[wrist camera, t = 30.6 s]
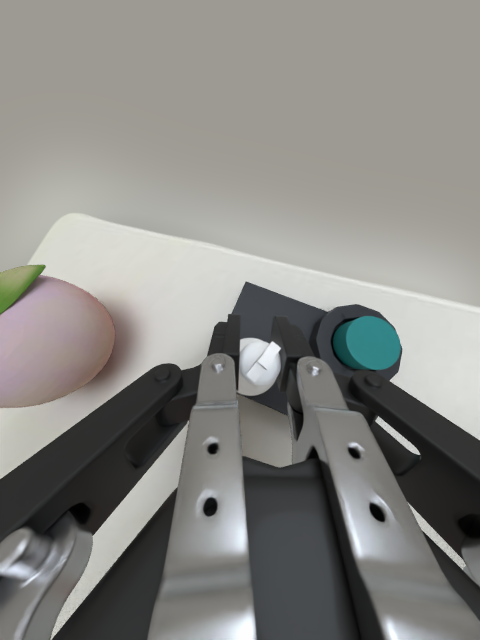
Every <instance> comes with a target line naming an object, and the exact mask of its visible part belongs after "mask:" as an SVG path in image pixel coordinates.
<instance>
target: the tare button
mask: <svg viewBox="0 0 480 640" xmlns="http://www.w3.org/2000/svg"><path fill="white" fill-rule="evenodd" d="M333 347H334V351H335V353H336V355H337V356H338V358H339V359H340V360H341V361H342V362H343V363H344V364H345V365H347V366H349V367H351V368H354V369H361V370H383V369H386V368H389V367H390V366H392V365H393V364H394V363H395V362H396V361H397V359H398V357H399V355H400V350H401V345H400V340H399V337H398V335H397V333H396V331H395V330H394V329H393V327H392V326H391V325H390V324H388V323H387V322H386V321H384V320H382V319H380V318H377V317H373V316H364V317H360V318H357V319H355V320H352V321H350V322H347V323H345V324H343V325H341V326H340V327H339V328H338V329H337V330H336V332H335V334H334V337H333Z"/></svg>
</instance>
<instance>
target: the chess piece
mask: <svg viewBox="0 0 480 640" xmlns="http://www.w3.org/2000/svg"><path fill="white" fill-rule="evenodd" d="M280 349H281V348H280V347H279V346H278V345H277V344H275V343H274V342H273V341H272V342H271V343H270V344H269V343H267V342H264V341H262V340H260V339H256V338H244V339H241V340H240V359H239V384H238V391H236V392H238V393H240V394H242V395H247V396H254V395H259V394H262V393H264V392H265V391H267V390H268V389H269V388H270V387H271V386H272V385H273V384H274V382H275V380H276V378H277V376H278V375H279V373H280V370H281V358H280V355H279V353H278V352H279V350H280Z"/></svg>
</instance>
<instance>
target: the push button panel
mask: <svg viewBox="0 0 480 640" xmlns="http://www.w3.org/2000/svg"><path fill="white" fill-rule="evenodd" d="M232 314H241V321H240V340H241V339H244V338H256V339H260V340H262V341H264V342H267V343H269V344H270V336H271V329H272V322H273V317H274V316H287V317H288V320H289V322H290V324H293V325H297V326H298V327H299V328H300V329H301V330H302V332H303V334H304V337H305V338H306V340H307V342H308V344H309V346H310V348H311V350H312V352H313V354H314V356H315V357H316V358H319V359H321V360H323V361H324V362H326V363H327V364H328V365H329V367H330V368H331V370H332V372H334V373H337V374H341V375H344V376H348V377H352V375H353V373H354V372H355V371H357V370H361V369H354V368H351V367H349V366H347V365H345V364H344V363H343V362H342V361H341V360H340V359H339V358H338V356H337V355H336V353H335V351H334V347H333V337H334V334H335V332H336V330H337V329H338V328H339V327H340V326H341V325H343V324H345V323H347V322H350V321H352V320H355V319H357V318H360V317H364V316H373V317H377V318H380V319H382V320H384V321H386V322H387V323H388V324H390V323H389V322H388V321H387V320H386V319H385V318H384V317H383V316H382V315H381V314H380V313H379V312H377V311H375V310H372V309H369V308H367V307H364V306H361V305H357V304H355V305H347V306H340V307H336V308H334V309H333V310H331V311H329V312H326V311H324V310H321V309H318V308H316V307H313V306H310V305H308V304H305V303H302V302H299V301H297V300H294V299H291V298H289V297H286V296H283V295H281V294H278V293H275V292H273V291H270V290H267V289H265V288H262V287H259V286H257V285H254V284H251V283H249V282H245V285H244V287H243V289H242V292H241V294H240V296H239V299H238V301H237V303H236V306H235V308H234V310H233V312H232ZM390 325H391V324H390ZM391 326H392V325H391ZM392 327H393V326H392ZM393 329H394V330H395V328H394V327H393ZM395 331H396V330H395ZM400 345H401V344H400ZM401 355H402V347H401V350H400V355H399V357H398V359H397V361H396V362H395V363H394V364H393V365H392V366H390V367H389V368H386V369H383V370H369V371H372V372H375V373H377V374H379V375H381V376H382V377H384V378H385V379H387V380H388V381H389V380H390V379H391V378H392V377H393V376H394V375H395V374H396V373H398V371H399V366H400V360H401ZM236 393H238V392H236ZM238 394H240V393H238ZM240 395H242V394H240ZM242 396H245V397H247V398H249V399H252V400H254V401H256V402H258V403H261V404H263V405H265V406H268V407H270V408H272V409H275V410H277V411H279V412H282V413H284V414H286V415H288V409H287V402H288V399H287V394H286V392H279V388H278V383H277V378H276V380H275V382H274V384H273V385H272V386H271V387H270V388H269V389H268V390H267V391H265V392H264V393H262V394H259V395H254V396H247V395H242Z"/></svg>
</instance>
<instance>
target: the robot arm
mask: <svg viewBox="0 0 480 640" xmlns="http://www.w3.org/2000/svg"><path fill="white" fill-rule="evenodd" d="M240 321H241V314H228V321H227V322H219V323H218V324H217V325H216V326H215V327H214V331H213V335H212V339H211V343H210V347H209V351H208V355H207V357H206V358H205V359H204V360H203V362H202V364H200V365H199V366H197V367H194V368H190V369H186V370H181V369H180V368H179V367H178V366H177V365H175V364H169V363H168V364H161V365H158V366H156V367H154V368H152V369H151V370H149V371H148V372H147V373H145V374H144V375H142V376H141V377H140V378H138V379H137V380H136V381H134V382H133V383H131V384H130V385H129V386H127V387H126V388H125V389H123V390H122V391H121V392H119V393H118V394H116V395H115V396H114V397H112V398H111V399H110V400H108V401H107V402H106V403H104V404H103V405H101V406H100V407H99V408H97V409H96V410H95V411H93V412H92V413H90V414H89V415H88V416H86V417H85V418H84V419H82V420H81V421H80V422H78V423H77V424H75V425H74V426H73V427H71V428H70V429H69V430H67V431H66V432H64V433H63V434H62V435H60V436H59V437H58V438H56V439H55V440H54V441H52V442H51V443H49V444H48V445H47V446H45V447H44V448H43V449H41V450H40V451H38V452H37V453H36V454H34V455H33V456H32V457H30V458H29V459H28V460H26V461H25V462H23V463H22V464H21V465H19V466H18V467H17V468H15V469H14V470H12V471H11V472H10V473H8V474H7V475H6V476H4V477H3V478H2V479H0V640H50V638H51V635H52V631H53V628H54V625H55V623H56V620H57V618H58V615H59V613H60V611H61V609H62V607H63V605H64V603H65V602H66V600H67V598H68V596H69V595H70V593H71V592H72V590H73V589H74V587H75V586H76V584H77V583H78V581H79V580H80V578H81V576H82V574H83V573H84V571H85V568H86V566H87V564H88V561H89V558H90V555H91V551H92V545H93V537H92V536H93V535H94V534H95V533H96V531H97V530H98V529H99V528H100V527H101V525H102V524H103V523H104V522H105V521H106V519H107V518H108V517H109V516H110V515H111V514H112V512H113V511H114V510H115V509H116V508H117V506H118V505H119V504H120V503H121V502H122V500H123V499H124V498H125V497H126V496H127V494H128V493H129V492H130V491H131V490H132V488H133V487H134V486H135V485H136V484H137V482H138V481H139V480H140V479H141V478H142V476H143V475H144V474H145V473H146V472H147V470H148V469H149V468H150V467H151V466H152V464H153V463H154V462H155V461H156V460H157V459H158V457H159V456H160V455H161V454H162V453H163V451H164V450H165V449H166V448H167V447H168V445H169V444H170V443H171V442H172V441H173V439H174V438H175V437H176V436H177V435H178V433H179V432H180V431H181V430H182V429H183V427H184V426H185V425H186V424H187V422H188V421H189V425H188V431H187V437H186V443H185V449H184V455H183V461H182V466H181V472H180V478H179V484H178V487H177V488H176V489H175V490H174V491H173V492H172V494H171V495H170V496H169V497H168V498H167V500H166V501H165V502H164V503H163V504H162V506H161V507H160V508H159V509H158V511H157V512H156V513H155V514H154V515H153V517H152V518H151V519H150V520H149V522H148V523H147V524H146V525H145V526H144V528H143V529H142V530H141V531H140V533H139V534H138V535H137V536H136V537H135V539H134V540H133V541H132V542H131V544H130V545H129V546H128V547H127V548H126V550H125V551H124V552H123V553H122V555H121V556H120V557H119V558H118V559H117V561H116V562H115V563H114V564H113V566H112V567H111V568H110V569H109V570H108V572H107V573H106V574H105V575H104V576H103V578H102V579H101V580H100V581H99V583H98V584H97V585H96V586H95V587H94V589H93V590H92V591H91V592H90V594H89V595H88V596H87V597H86V598H85V600H84V601H83V602H82V603H81V605H80V606H79V607H78V608H77V609H76V611H75V612H74V613H73V614H72V616H71V617H70V618H69V619H68V620H67V622H66V623H65V624H64V625H63V627H62V628H61V629H60V630H59V631H58V633H57V634H56V635H55V636H54V638H53V639H52V640H480V440H478V439H476V438H475V437H473V436H472V435H470V434H469V433H467V432H466V431H464V430H463V429H461V428H460V427H458V426H457V425H455V424H454V423H452V422H451V421H449V420H448V419H446V418H445V417H443V416H442V415H440V414H439V413H437V412H435V411H434V410H432V409H431V408H429V407H428V406H426V405H425V404H423V403H422V402H420V401H419V400H417V399H416V398H414V397H413V396H411V395H410V394H408V393H407V392H405V391H404V390H402V389H401V388H399V387H397V386H396V385H394V384H393V383H391V382H390V381H388V380H387V379H385V378H384V377H382V376H381V375H379V374H377V373H375V372H372V371H369V370H357V371H355V372H354V373H353V375H352V377H348V376H344V375H341V374H337V373H334V372H332V370H331V368H330V367H329V365H328V364H327V363H326V362H324V361H323V360H321V359H319V358H316V357H315V356H314V354H313V352H312V350H311V348H310V346H309V344H308V342H307V340H306V338H305V337H304V334H303V332H302V330H301V329H300V328H299V327H298V326H297V325H293V324H290V322H289V320H288V317H287V316H274V317H273V322H272V329H271V336H270V343H271V342H272V341H273V342H274V343H275V344H277V345H278V346H279V347H280V348H281V349H280V350H279V352H278V353H279V355H280V358H281V370H280V373H279V375H278V376H277V383H278V388H279V392H286V394H287V399H288V402H287V409H288V417H289V424H290V432H291V440H292V465H289V466H285V467H281V468H278V467H275V466H272V465H269V464H266V463H263V462H260V461H257V460H254V459H251V458H248V457H245V456H242V449H241V435H240V420H239V407H238V403H237V394H236V391H238V384H239V359H240ZM378 416H379V417H380V418H382V419H383V420H384V421H385V422H386V423H388V424H389V425H390V426H391V427H392V428H394V429H395V430H396V431H397V432H398V433H400V434H401V435H402V436H403V437H405V438H406V439H407V440H408V441H409V442H411V443H412V444H413V445H414V446H415V447H416V448H417V449H418V451H419V452H420V454H421V455H417V454H414V453H412V452H410V451H409V450H408V449H406V448H405V447H404V446H403V445H402V444H401V443H399V442H398V441H397V440H396V439H395V438H394V437H392V436H391V435H390V434H389V433H388V432H387V431H385V430H384V429H383V428H382V427H381V426H380V425H378V424H377V423H376V422H375V420H376V419H377V417H378ZM407 502H408V503H409V504H410V505H411V506H412V507H413V508H414V509H415V510H416V511H417V512H418V513H419V514H420V515H421V516H422V517H423V518H424V519H425V520H426V521H427V523H428V524H429V525H430V526H431V527H432V528H433V529H434V530H435V531H436V532H437V533H438V534H439V535H440V536H441V537H442V538H443V539H444V540H445V541H446V542H447V543H448V544H449V545H450V547H451V548H452V549H453V550H454V551H455V552H456V553H457V554H458V555H459V556H460V557H461V558H462V559H463V560H464V562H465V564H466V566H465V567H464V568H463V570H462V569H461V568H460V567H459V566H458V565H457V564H456V563H455V562H454V561H453V560H452V559H451V558H450V557H449V556H448V555H447V554H446V553H445V552H444V551H443V550H442V549H441V548H440V547H439V546H437V545H436V544H435V543H434V542H433V541H432V540H431V539H430V538H429V537H428V536H427V535H426V534H425V533H424V532H423V531H422V530H421V529H420V527H419V525H418V523H417V521H416V519H415V517H414V515H413V513H412V511H411V509H410V507H409V505H408V503H407Z"/></svg>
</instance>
